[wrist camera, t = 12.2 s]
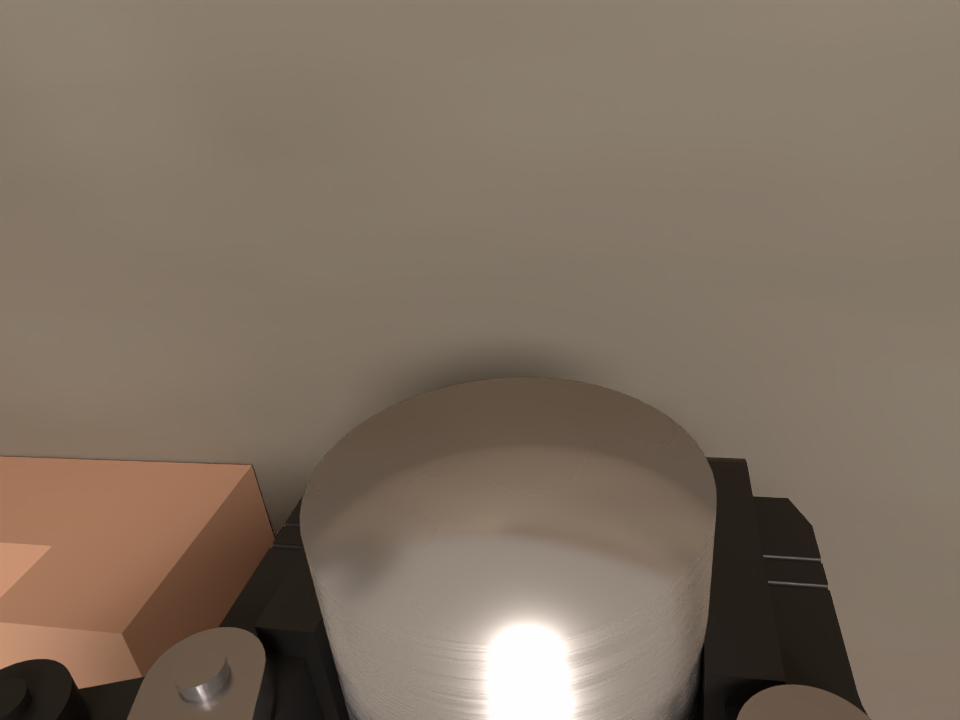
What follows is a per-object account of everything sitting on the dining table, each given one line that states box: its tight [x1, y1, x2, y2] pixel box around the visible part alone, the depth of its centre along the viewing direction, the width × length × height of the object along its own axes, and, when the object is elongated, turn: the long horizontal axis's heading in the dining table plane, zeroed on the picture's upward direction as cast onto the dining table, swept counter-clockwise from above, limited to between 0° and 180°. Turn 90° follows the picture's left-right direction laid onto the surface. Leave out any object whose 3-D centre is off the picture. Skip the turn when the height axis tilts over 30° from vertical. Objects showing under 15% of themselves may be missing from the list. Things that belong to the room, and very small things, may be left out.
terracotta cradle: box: [0, 456, 275, 689], centre depth 19 cm, size 9×11×5 cm
